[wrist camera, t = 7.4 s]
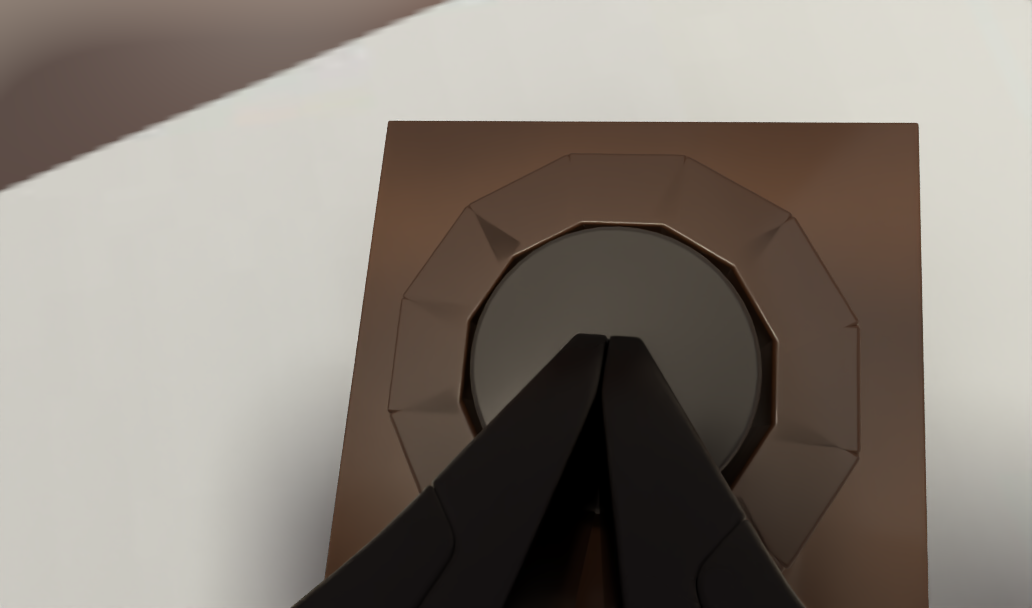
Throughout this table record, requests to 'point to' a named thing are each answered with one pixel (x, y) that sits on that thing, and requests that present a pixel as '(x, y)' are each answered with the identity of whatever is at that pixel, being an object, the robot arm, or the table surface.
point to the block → (744, 262)
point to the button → (625, 325)
